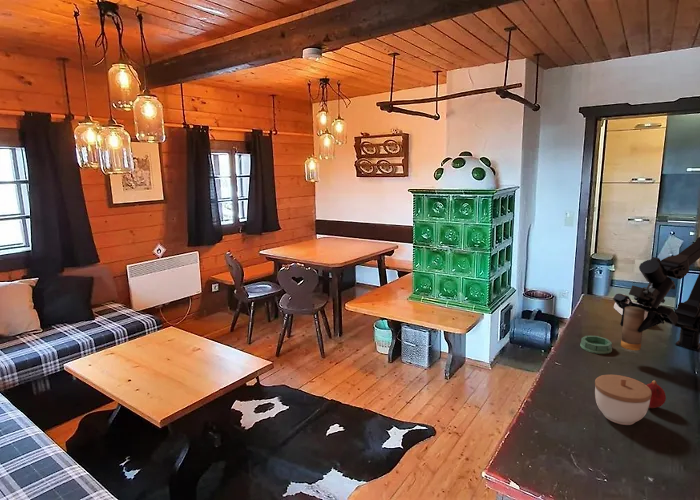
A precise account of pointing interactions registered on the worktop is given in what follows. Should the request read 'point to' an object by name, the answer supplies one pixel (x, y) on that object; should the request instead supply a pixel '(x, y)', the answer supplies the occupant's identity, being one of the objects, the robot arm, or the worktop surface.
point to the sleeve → (632, 328)
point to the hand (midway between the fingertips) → (629, 328)
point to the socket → (596, 344)
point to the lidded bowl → (622, 398)
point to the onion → (656, 395)
